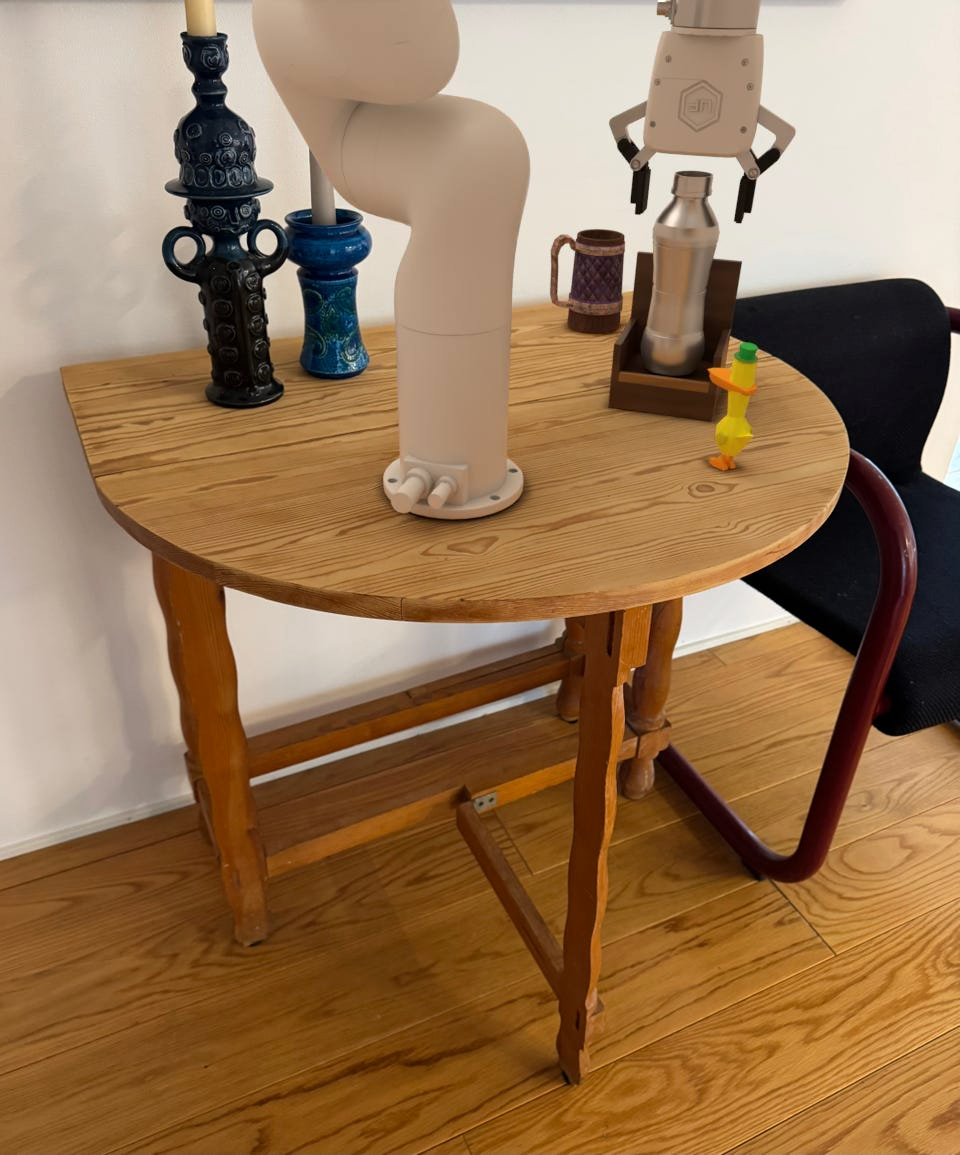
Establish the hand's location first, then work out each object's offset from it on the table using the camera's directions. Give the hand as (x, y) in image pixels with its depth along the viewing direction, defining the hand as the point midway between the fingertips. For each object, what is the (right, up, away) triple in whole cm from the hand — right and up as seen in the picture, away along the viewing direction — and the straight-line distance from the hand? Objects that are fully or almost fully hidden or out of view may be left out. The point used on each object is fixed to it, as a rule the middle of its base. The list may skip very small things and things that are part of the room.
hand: (689, 216), depth 94 cm
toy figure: (+2, -25, -3) cm, 25 cm away
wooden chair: (0, -16, +11) cm, 19 cm away
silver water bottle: (0, -14, +9) cm, 16 cm away
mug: (-7, -3, +30) cm, 31 cm away
